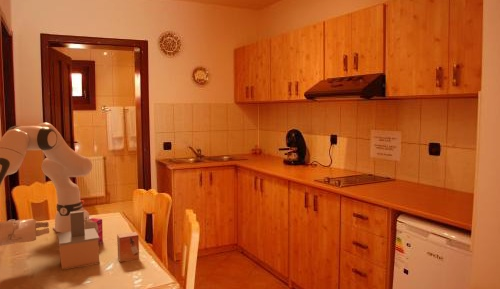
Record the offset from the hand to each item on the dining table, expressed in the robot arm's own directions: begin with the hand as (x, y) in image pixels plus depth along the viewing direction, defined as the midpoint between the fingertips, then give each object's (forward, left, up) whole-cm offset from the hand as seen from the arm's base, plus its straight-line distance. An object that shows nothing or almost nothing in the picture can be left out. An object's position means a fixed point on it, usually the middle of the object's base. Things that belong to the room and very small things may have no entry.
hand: (48, 227), depth 162 cm
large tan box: (-5, +9, -16) cm, 19 cm away
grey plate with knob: (-5, +9, -6) cm, 12 cm away
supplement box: (-26, +6, -16) cm, 32 cm away
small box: (-8, +29, -16) cm, 34 cm away
